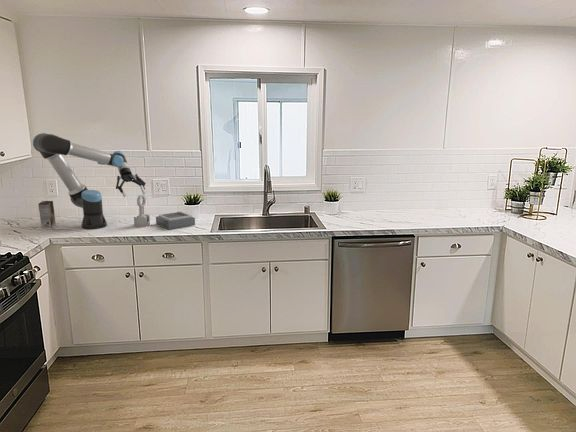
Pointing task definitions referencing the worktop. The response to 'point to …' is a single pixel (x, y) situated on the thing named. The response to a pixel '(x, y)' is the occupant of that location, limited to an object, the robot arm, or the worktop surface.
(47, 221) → the coffee box
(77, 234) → the worktop surface
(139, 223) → the engine component
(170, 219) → the grey square tray
